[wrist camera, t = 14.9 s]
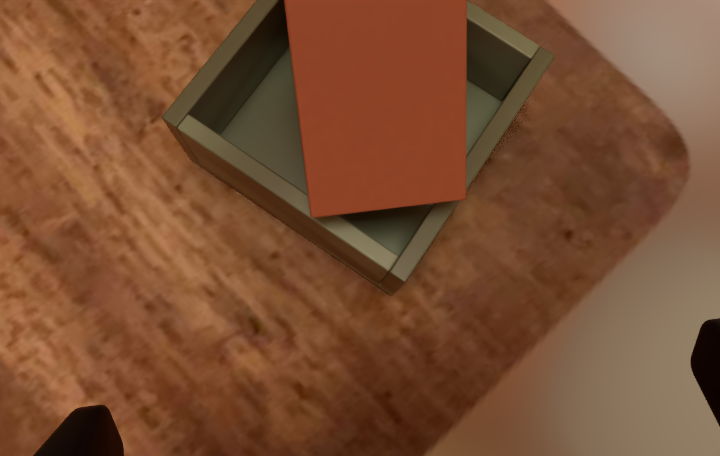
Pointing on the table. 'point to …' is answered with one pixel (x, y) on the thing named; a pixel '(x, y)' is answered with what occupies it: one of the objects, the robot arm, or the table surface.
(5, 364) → the table surface
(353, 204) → the tea carton
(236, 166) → the box
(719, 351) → the robot arm
